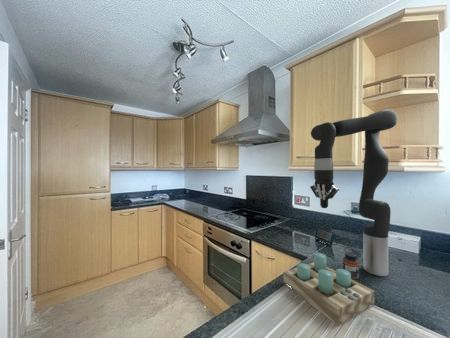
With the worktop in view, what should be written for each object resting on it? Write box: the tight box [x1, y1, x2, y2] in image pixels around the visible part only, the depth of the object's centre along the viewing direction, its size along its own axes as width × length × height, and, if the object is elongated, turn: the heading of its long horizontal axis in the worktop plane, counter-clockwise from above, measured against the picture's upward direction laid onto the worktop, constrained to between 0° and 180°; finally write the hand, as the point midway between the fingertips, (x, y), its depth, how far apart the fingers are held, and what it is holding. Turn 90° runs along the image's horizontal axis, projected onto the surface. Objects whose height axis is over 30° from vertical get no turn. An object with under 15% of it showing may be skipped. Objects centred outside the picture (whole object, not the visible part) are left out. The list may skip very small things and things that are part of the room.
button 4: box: [335, 268, 351, 289], centre depth 73 cm, size 5×5×6 cm
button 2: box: [313, 252, 328, 271], centre depth 82 cm, size 5×5×6 cm
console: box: [283, 261, 375, 326], centre depth 75 cm, size 20×24×5 cm
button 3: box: [318, 269, 333, 294], centre depth 69 cm, size 5×5×6 cm
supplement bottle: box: [342, 251, 360, 283], centre depth 84 cm, size 6×6×11 cm
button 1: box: [296, 262, 310, 282], centre depth 78 cm, size 5×5×6 cm
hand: (324, 207), depth 86 cm, fingers closed
